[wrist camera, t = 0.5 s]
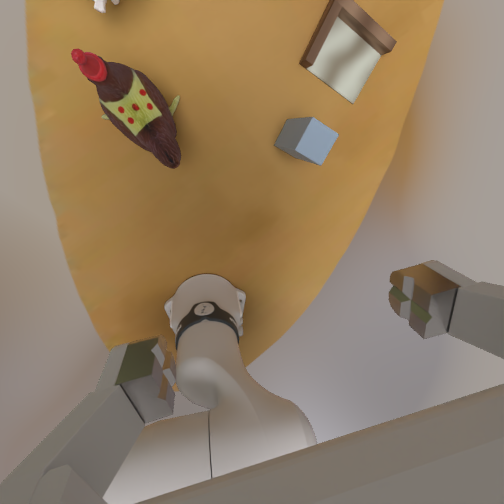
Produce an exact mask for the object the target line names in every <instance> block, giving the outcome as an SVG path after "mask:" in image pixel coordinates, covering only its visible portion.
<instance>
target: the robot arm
mask: <svg viewBox="0 0 504 504" xmlns="http://www.w3.org/2000/svg"><path fill="white" fill-rule="evenodd" d="M390 282H391V284H392V285H393V287H392V288H391V290H390V291H389V302H390V305H391V307H392V309H393V310H394V311H395V313H396V314H397V315H398V316H400V317H402V318H405V319H407V320H409V326H410V327H411V328H412V329H413V330H414V331H416V332H417V333H418V334H419V335H420V336H421V337H422V338H423V339H427V338H430V337H434V336H437V335H442V334H445V333H448V334H449V335H451V336H453V337H456V338H458V339H460V340H462V341H465V342H467V343H469V344H471V345H474V346H476V347H478V348H480V349H483V350H485V351H487V352H489V353H492V354H494V355H496V356H498V357H501V358H503V359H504V286H501V285H496V284H490V283H486V282H479V283H477V282H475V281H473V280H471V279H469V278H468V277H466V276H464V275H462V274H461V273H459V272H457V271H455V270H453V269H451V268H449V267H448V266H446V265H444V264H442V263H440V262H438V261H434V260H431V261H427V262H424V263H421V264H418V265H415V266H411V267H408V268H404V269H400V270H397V271H394V272H392V274H391V276H390ZM245 299H246V295H245V292H244V291H242V290H240V289H237V288H235V287H234V286H233V285H232V284H231V283H230V282H229V281H227V280H226V279H224V278H222V277H220V276H217V275H212V274H202V275H197V276H194V277H191V278H189V279H188V280H186V281H185V282H183V283H182V284H181V285H180V287H179V288H178V289H177V291H176V293H175V295H174V296H173V297H172V298H170V299H169V300H168V301H167V302H166V303H165V305H164V308H165V311H166V312H167V314H168V316H169V318H170V327H171V328H172V329H173V331H174V333H175V334H176V336H175V343H176V350H177V360H176V364H175V360H174V357H173V355H172V353H171V352H170V351H168V350H166V347H167V342H166V340H165V338H164V336H163V335H157V336H153V337H149V338H145V339H141V340H137V341H133V342H130V343H125V344H122V345H118V346H115V347H114V348H112V349H111V352H110V354H109V357H108V359H107V362H106V364H105V367H104V369H103V372H102V374H101V377H100V379H99V382H98V384H97V387H96V390H95V392H92V393H89V394H88V395H87V396H86V397H85V398H84V399H83V400H82V401H81V402H80V403H79V404H78V405H77V406H76V407H75V408H74V409H73V410H72V411H71V412H70V413H69V415H67V416H66V417H65V419H63V420H62V422H60V423H59V425H57V427H56V428H55V429H54V430H53V431H52V432H51V433H50V434H49V435H48V436H47V437H46V438H45V439H44V440H43V441H42V442H41V443H40V444H39V445H38V446H37V447H36V448H35V449H34V450H33V451H32V452H31V453H30V454H29V455H28V456H27V457H26V458H25V459H24V460H23V461H22V462H21V463H20V464H19V465H18V466H17V467H16V468H15V469H14V470H13V471H12V472H11V473H10V474H9V475H8V476H7V477H6V479H4V480H3V481H2V482H1V484H0V504H504V384H501V385H498V386H495V387H492V388H489V389H486V390H483V391H480V392H477V393H474V394H471V395H468V396H464V397H461V398H458V399H455V400H452V401H449V402H446V403H443V404H440V405H437V406H434V407H431V408H428V409H424V410H421V411H418V412H415V413H412V414H409V415H406V416H403V417H400V418H397V419H394V420H390V421H388V422H384V423H381V424H378V425H375V426H372V427H369V428H366V429H363V430H360V431H356V432H353V433H350V434H347V435H344V436H341V437H338V438H335V439H332V440H329V441H326V442H322V443H319V444H317V441H316V436H315V433H314V431H313V428H312V426H311V424H310V422H309V420H308V418H307V417H306V416H305V414H304V413H303V412H302V410H300V408H299V407H298V406H297V405H295V404H294V403H293V402H291V401H290V400H287V399H284V398H281V397H279V396H277V395H275V394H273V393H271V392H269V391H268V390H266V389H265V388H263V387H262V386H261V385H259V384H258V383H257V382H256V381H255V380H254V379H253V378H252V377H251V376H250V374H249V373H248V372H247V370H246V368H245V366H244V364H243V360H242V357H241V354H240V350H239V346H238V344H239V336H242V335H243V327H242V326H241V325H242V324H243V319H242V316H243V310H244V305H245ZM239 300H241V301H239ZM175 382H176V384H177V387H178V389H179V391H180V392H181V393H182V394H183V395H184V396H185V397H186V398H187V399H188V400H189V401H191V402H192V403H194V404H196V405H199V406H202V407H206V408H208V409H210V410H209V411H205V412H200V413H195V414H190V415H185V416H180V417H175V418H170V419H165V420H160V421H157V422H155V423H153V424H150V425H148V426H145V423H148V422H151V421H154V420H157V419H160V418H163V417H166V416H169V415H172V414H173V408H174V397H175V393H174V391H173V389H172V386H173V385H174V383H175Z"/></svg>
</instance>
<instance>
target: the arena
mask: <svg viewBox="0 0 504 504" xmlns="http://www.w3.org/2000/svg"><path fill="white" fill-rule="evenodd" d="M396 42H397V41H396V40H394V39H393V38H392V37H391V36H390V35H389V34H388V33H387V32H386V31H385V30H384V29H383V28H382V27H381V26H380V25H379V24H378V23H377V22H375V21H374V20H373V19H372V18H371V17H370V16H369V15H368V14H367V13H366V12H365V11H364V10H363V9H362V8H361V7H360V6H359V5H358V4H356V3H355V2H354V1H353V0H330V1H329V3H328V5H327V7H326V9H325V11H324V14H323V16H322V18H321V20H320V22H319V24H318V26H317V28H316V30H315V32H314V34H313V36H312V38H311V40H310V42H309V44H308V46H307V48H306V50H305V52H304V55H303V57H302V59H301V61H300V63H299V64H300V65H302V66H303V67H304V68H306V69H307V70H308V71H310V72H311V73H312V74H314V75H315V76H316V77H318V78H319V79H320V80H322V81H323V82H324V83H326V84H327V85H328V86H330V87H331V88H332V89H333V90H335V91H336V92H337V93H339V94H340V95H341V96H343V97H344V98H345V99H347V100H348V101H349V102H351V103H352V104H353V103H354V102H355V100H356V98H357V96H358V95H359V93H360V91H361V89H362V88H363V86H364V84H365V83H366V81H367V79H368V77H369V76H370V74H371V72H372V70H373V69H374V67H375V65H376V63H377V62H378V60H379V58H380V56H381V55H383V54H386V53H388V52H391V51H392V49H393V47H394V46H395V44H396Z"/></svg>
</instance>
